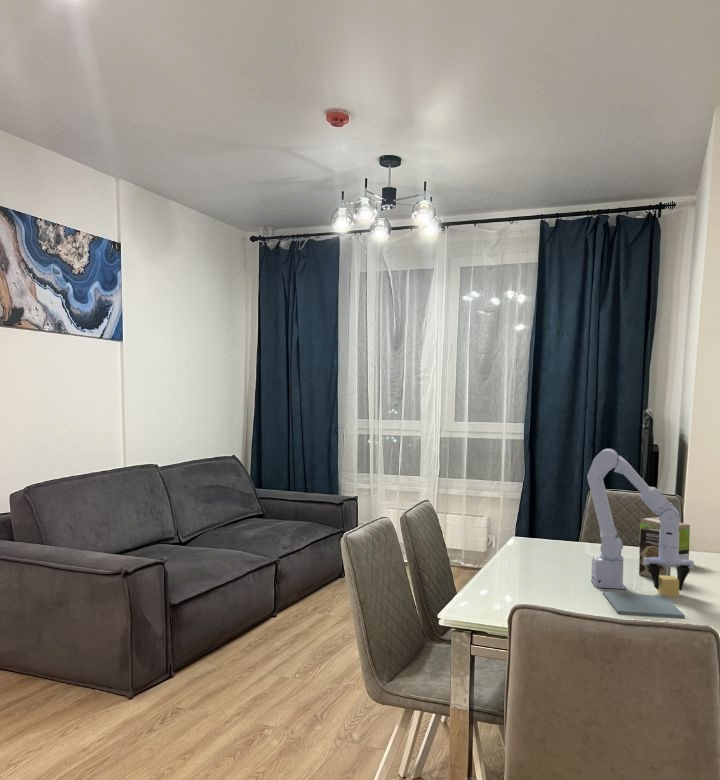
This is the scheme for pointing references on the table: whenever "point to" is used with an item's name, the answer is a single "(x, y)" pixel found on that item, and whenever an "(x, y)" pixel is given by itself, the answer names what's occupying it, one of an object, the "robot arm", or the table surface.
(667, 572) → the coffee box
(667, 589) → the mustard cube
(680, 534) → the tea box
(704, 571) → the table surface
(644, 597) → the slate mat
